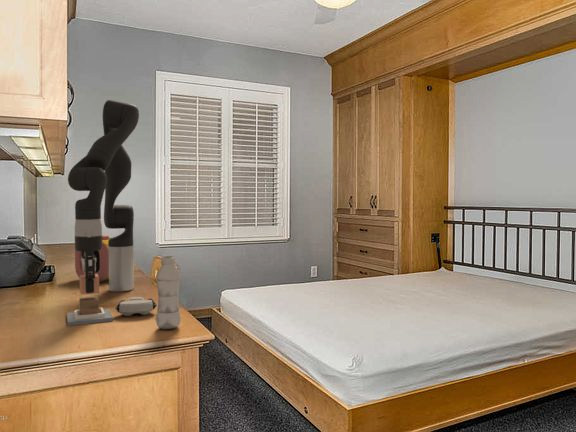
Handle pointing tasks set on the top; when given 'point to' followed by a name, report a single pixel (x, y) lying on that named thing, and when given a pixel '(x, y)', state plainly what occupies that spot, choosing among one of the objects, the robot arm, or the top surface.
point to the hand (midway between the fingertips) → (89, 290)
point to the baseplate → (89, 317)
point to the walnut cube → (89, 305)
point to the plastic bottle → (168, 294)
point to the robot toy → (135, 306)
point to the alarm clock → (101, 261)
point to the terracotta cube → (83, 284)
